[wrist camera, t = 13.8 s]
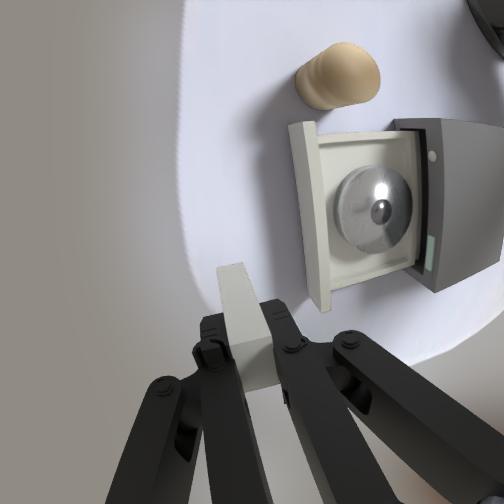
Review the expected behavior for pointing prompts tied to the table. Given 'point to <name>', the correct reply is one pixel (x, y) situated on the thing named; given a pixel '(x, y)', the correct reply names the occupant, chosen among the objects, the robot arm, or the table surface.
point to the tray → (322, 198)
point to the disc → (373, 208)
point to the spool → (338, 77)
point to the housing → (458, 199)
